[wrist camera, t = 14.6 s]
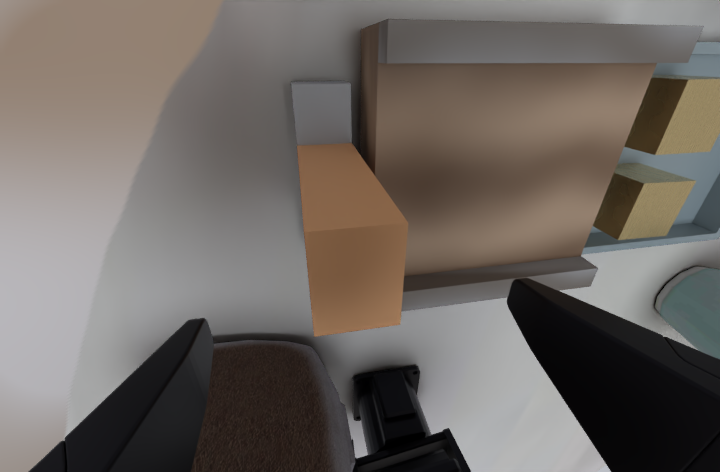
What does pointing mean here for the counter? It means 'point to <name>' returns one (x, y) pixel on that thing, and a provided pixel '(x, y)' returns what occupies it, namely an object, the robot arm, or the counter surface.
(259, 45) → the counter surface
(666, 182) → the brass block
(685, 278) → the disposable coffee cup
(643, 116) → the brass block
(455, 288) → the railed tan board
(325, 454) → the dark brown rounded block
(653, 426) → the robot arm
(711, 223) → the slate tray
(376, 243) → the brown and grey block
